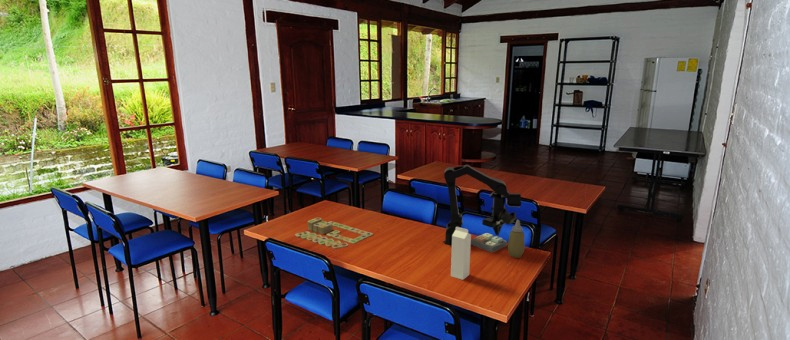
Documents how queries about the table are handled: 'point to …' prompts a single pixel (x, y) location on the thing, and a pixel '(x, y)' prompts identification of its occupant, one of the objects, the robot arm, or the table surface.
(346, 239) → the pile of dominoes
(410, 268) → the table surface
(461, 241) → the milk
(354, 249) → the table surface
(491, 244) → the tile cream
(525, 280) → the table surface
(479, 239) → the tile terracotta
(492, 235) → the tile sage
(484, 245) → the bezel board
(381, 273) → the table surface
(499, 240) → the tile bluegrey
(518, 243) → the squeeze bottle
